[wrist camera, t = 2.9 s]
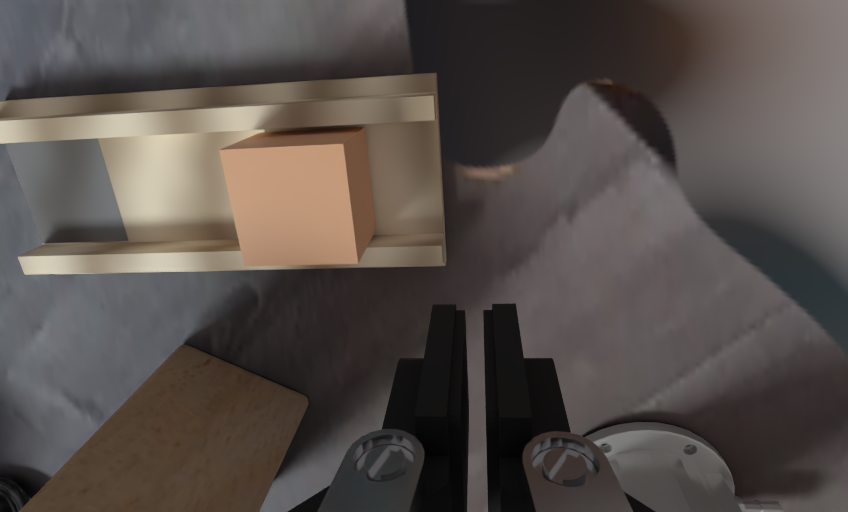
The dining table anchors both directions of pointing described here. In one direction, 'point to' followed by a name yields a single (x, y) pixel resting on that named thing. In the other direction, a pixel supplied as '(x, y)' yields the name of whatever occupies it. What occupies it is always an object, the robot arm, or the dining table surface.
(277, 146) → the block
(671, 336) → the dining table surface
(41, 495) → the wooden block
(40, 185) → the chute
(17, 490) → the milk frother
